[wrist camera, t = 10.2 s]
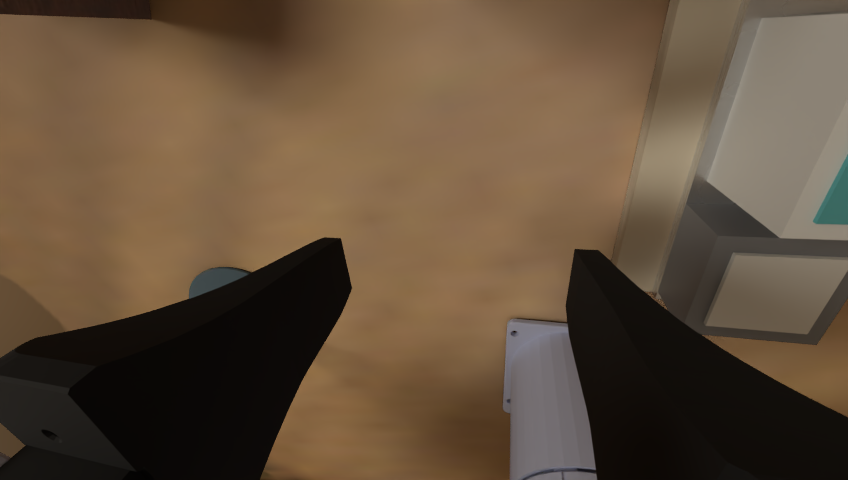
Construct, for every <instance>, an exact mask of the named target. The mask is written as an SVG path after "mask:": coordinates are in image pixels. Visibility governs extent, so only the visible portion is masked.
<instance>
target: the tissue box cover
mask: <svg viewBox="0 0 848 480" xmlns="http://www.w3.org/2000/svg"><path fill="white" fill-rule="evenodd" d="M0 14H14V15H42V16H70V17H99V18H127V19H151V13H150V4H149V0H0Z"/></svg>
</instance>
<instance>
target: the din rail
mask: <svg viewBox="0 0 848 480" xmlns="http://www.w3.org/2000/svg"><path fill="white" fill-rule="evenodd" d="M839 11H848V0H742V1H741V4H740V7H739V10H738V14H737V17H736V20H735V23H734V27H733V30H732V33H731V36H730V40H729V43H728V46H727V49H726V53H725V56H724V59H723V62H722V66H721V69H720V72H719V75H718V79H717V82H716V85H715V88H714V92H713V95H712V98H711V101H710V104H709V108H708V111H707V114H706V117H705V121H704V124H703V127H702V130H701V134H700V137H699V140H698V143H697V147H696V150H695V153H694V156H693V160H692V163H691V166H690V169H689V173H688V176H687V179H686V182H685V186H684V189H683V192H682V195H681V199H680V202H679V205H678V208H677V211H676V215H675V218H674V221H673V224H672V228H671V231H670V234H669V237H668V241H667V244H666V247H665V250H664V254H663V257H662V260H661V263H660V267H659V270H658V273H657V276H656V280H655V283H654V286H653V289H652V293H653V295H654V297H655V299H662V298H661V296H660V294H659V293H658V289H659V286H660V283H661V280H662V277H663V274H664V270H665V267H666V264H667V261H668V258H669V255H670V252H671V249H672V245H673V242H674V239H675V236H676V233H677V230H678V227H679V223H680V220H681V217H682V214H683V211H684V208H685V205H686V204H736V203H734V202H733V201H732V200H730V199H729V198H728V197H727V196H725V195H724V194H723V193H721V192H720V191H719V190H718V189H716V188H715V187H714V186H712V185H711V184H710V183H709V182H707V180H708V177H709V174H710V171H711V168H712V165H713V162H714V159H715V156H716V153H717V150H718V147H719V144H720V141H721V138H722V135H723V132H724V129H725V126H726V123H727V120H728V117H729V114H730V111H731V108H732V105H733V102H734V99H735V96H736V93H737V90H738V87H739V84H740V81H741V78H742V75H743V72H744V69H745V66H746V63H747V60H748V57H749V54H750V51H751V48H752V45H753V42H754V39H755V37H756V34H757V31H758V28H759V25H760V22H761V19H762V18H770V17H781V16H793V15H805V14H816V13H828V12H839Z"/></svg>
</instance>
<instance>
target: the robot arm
mask: <svg viewBox="0 0 848 480" xmlns="http://www.w3.org/2000/svg"><path fill="white" fill-rule="evenodd" d="M351 289H352V286H351V282H350V277H349V273H348V268H347V264H346V259H345V255H344V250H343V246H342V241H341V238H322V239H319V240H317V241H314V242H312V243H310V244H308V245H306V246H304V247H302V248H300V249H298V250H296V251H294V252H292V253H290V254H288V255H286V256H284V257H282V258H280V259H279V260H277V261H275V262H273V263H271V264H269V265H267V266H265V267H263V268H261V269H258V270H256V271H254V272H252V273H250V274H248V275H246V276H244V277H242V278H240V279H238V280H235V281H233V282H231V283H229V284H226V285H224V286H221V287H219V288H217V289H214V290H211V291H209V292H206V293H204V294H201V295H199V296H196V297H193V298H190V299H187V300H184V301H181V302H178V303H175V304H172V305H169V306H166V307H163V308H160V309H157V310H153V311H150V312H147V313H143V314H139V315H136V316H132V317H129V318H125V319H121V320H117V321H113V322H109V323H105V324H100V325H96V326H92V327H87V328H82V329H77V330H73V331H68V332H63V333H58V334H54V335H48V336H43V337H38V338H34V339H32V340H30V341H28V342H26V343H24V344H22V345H20V346H19V347H17V348H15V349H14V350H12V351H10V352H9V353H7V354H6V355H4V356H3V357H1V358H0V423H1V424H2V425H4V426H5V427H6V428H7V429H8V430H9V431H10V432H11V433H12V434H13V435H15V436H16V437H17V438H18V439H19V440H20V441H21V442H22V443H23V444H24V445H26V446H25V447H23V448H22V449H21V450H20V451H19V452H18V453H16V454H15V455H14V456H13V457H12V458H10V457H9V456H6V455H5V454H3V453H1V452H0V480H260V477H261V475H262V472H263V470H264V467H265V465H266V462H267V460H268V457H269V454H270V452H271V449H272V447H273V444H274V442H275V439H276V437H277V435H278V433H279V430H280V428H281V426H282V423H283V421H284V419H285V416H286V414H287V412H288V409H289V407H290V405H291V403H292V401H293V399H294V397H295V394H296V392H297V390H298V388H299V386H300V384H301V382H302V380H303V378H304V376H305V374H306V373H307V371H308V369H309V367H310V366H311V364H312V362H313V361H314V359H315V357H316V356H317V354H318V352H319V351H320V349H321V347H322V346H323V344H324V342H325V341H326V339H327V337H328V336H329V334H330V333H331V331H332V329H333V327H334V326H335V324H336V322H337V321H338V319H339V317H340V315H341V314H342V311H343V309H344V307H345V304H346V302H347V300H348V297H349V294H350V292H351ZM566 313H567V323H568V324H567V323H556V322H545V321H534V320H523V319H511V320H509V321H508V323H507V338H506V356H505V374H504V392H503V410H504V411H505V412H506V413H510V414H511V415H510V480H848V417H846V416H844V415H842V414H840V413H838V412H836V411H834V410H832V409H830V408H828V407H826V406H824V405H822V404H820V403H818V402H816V401H814V400H812V399H810V398H808V397H806V396H804V395H802V394H800V393H799V392H797V391H795V390H793V389H791V388H789V387H787V386H785V385H784V384H782V383H780V382H778V381H776V380H774V379H773V378H771V377H769V376H767V375H766V374H764V373H762V372H760V371H759V370H757V369H755V368H753V367H752V366H750V365H748V364H747V363H745V362H743V361H741V360H740V359H738V358H736V357H735V356H733V355H731V354H730V353H728V352H727V351H725V350H723V349H722V348H720V347H719V346H717V345H716V344H714V343H713V342H711V341H710V340H708V339H707V338H705V337H704V336H702V335H701V334H699V333H698V332H696V331H695V330H693V329H692V328H690V327H689V326H687V325H686V324H685V323H683V322H682V321H680V320H679V319H678V318H676V317H675V316H674V315H673V314H671V313H670V312H669V311H667V310H666V309H665V308H664V307H662V306H661V305H660V304H658V303H657V302H656V301H655V300H654V299H652V298H651V297H650V296H649V295H647V294H646V293H645V292H644V291H643V290H642V289H640V288H639V287H638V286H637V285H636V284H635V283H634V282H632V281H631V280H630V279H629V278H628V277H627V276H626V275H625V274H624V273H623V272H621V271H620V270H619V269H618V268H617V267H616V266H615V265H614V264H613V263H612V262H611V261H610V260H609V259H608V258H606V257H605V256H604V255H603V254H602V253H601V252H600V251H599V250H583V249H575V251H574V257H573V263H572V270H571V276H570V282H569V288H568V295H567V301H566ZM512 331H517V332H512Z"/></svg>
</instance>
